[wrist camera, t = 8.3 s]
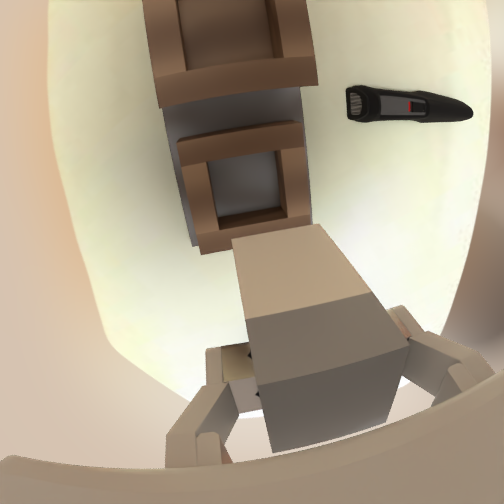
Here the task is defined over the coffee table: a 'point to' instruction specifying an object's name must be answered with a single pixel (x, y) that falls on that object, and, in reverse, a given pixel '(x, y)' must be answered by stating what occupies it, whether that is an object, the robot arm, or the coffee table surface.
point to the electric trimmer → (403, 106)
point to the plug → (315, 338)
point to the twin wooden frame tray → (234, 112)
